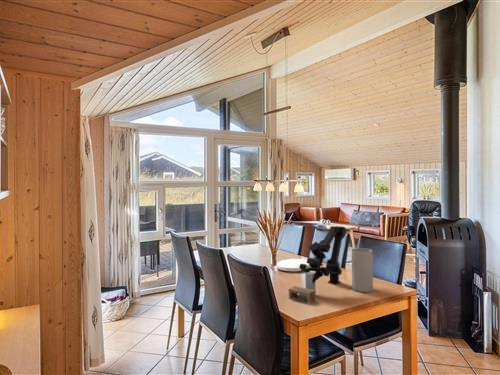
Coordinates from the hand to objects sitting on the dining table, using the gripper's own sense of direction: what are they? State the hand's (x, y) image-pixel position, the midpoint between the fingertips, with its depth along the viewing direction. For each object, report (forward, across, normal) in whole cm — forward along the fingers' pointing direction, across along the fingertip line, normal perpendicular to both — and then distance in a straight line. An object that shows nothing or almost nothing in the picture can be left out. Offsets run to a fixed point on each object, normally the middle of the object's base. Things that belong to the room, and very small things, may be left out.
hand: (309, 281), depth 205 cm
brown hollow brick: (+11, 0, 0) cm, 11 cm away
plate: (-28, -44, +40) cm, 66 cm away
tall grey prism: (+7, 0, +4) cm, 8 cm away
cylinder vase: (-15, +21, +27) cm, 37 cm away
